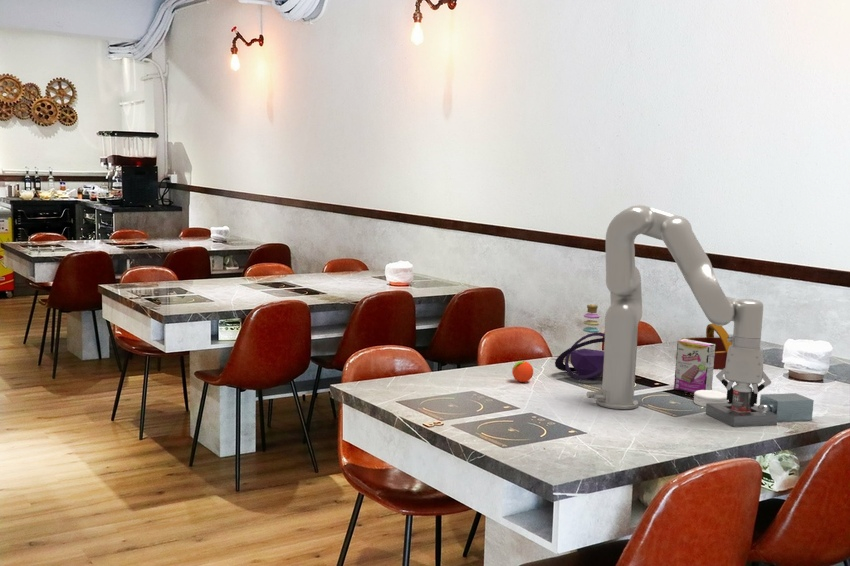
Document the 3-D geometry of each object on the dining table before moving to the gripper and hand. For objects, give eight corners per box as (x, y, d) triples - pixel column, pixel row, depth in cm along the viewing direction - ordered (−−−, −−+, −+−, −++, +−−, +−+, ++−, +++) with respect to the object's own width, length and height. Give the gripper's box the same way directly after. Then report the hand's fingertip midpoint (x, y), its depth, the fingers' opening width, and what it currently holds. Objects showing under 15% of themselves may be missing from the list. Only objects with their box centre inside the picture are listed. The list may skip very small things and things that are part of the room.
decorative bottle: (601, 369, 317) (605, 299, 314) (633, 382, 298) (638, 309, 294) (545, 371, 310) (548, 300, 307) (573, 385, 290) (578, 310, 287)
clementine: (520, 385, 288) (521, 364, 287) (505, 381, 293) (506, 360, 292) (537, 382, 293) (538, 361, 292) (521, 378, 298) (522, 357, 297)
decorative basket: (675, 356, 358) (672, 319, 356) (750, 349, 353) (747, 312, 352) (688, 376, 325) (684, 335, 323) (770, 369, 320) (767, 328, 318)
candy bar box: (673, 389, 290) (676, 340, 288) (680, 387, 294) (683, 338, 292) (705, 396, 283) (709, 345, 281) (712, 393, 286) (716, 343, 284)
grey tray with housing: (733, 426, 248) (735, 406, 247) (705, 413, 262) (707, 393, 261) (818, 423, 255) (820, 402, 255) (787, 410, 269) (789, 390, 268)
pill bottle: (728, 412, 256) (731, 379, 255) (733, 408, 260) (736, 375, 259) (747, 415, 253) (750, 382, 252) (752, 411, 257) (755, 378, 256)
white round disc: (686, 401, 276) (687, 390, 275) (712, 399, 280) (713, 388, 279) (708, 409, 267) (709, 398, 266) (734, 407, 271) (735, 396, 270)
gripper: (713, 341, 254) (708, 403, 256) (777, 348, 247) (772, 411, 249) (716, 337, 261) (712, 397, 263) (779, 343, 254) (774, 405, 256)
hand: (741, 403), depth 256 cm, fingers closed on pill bottle, 5 cm apart
